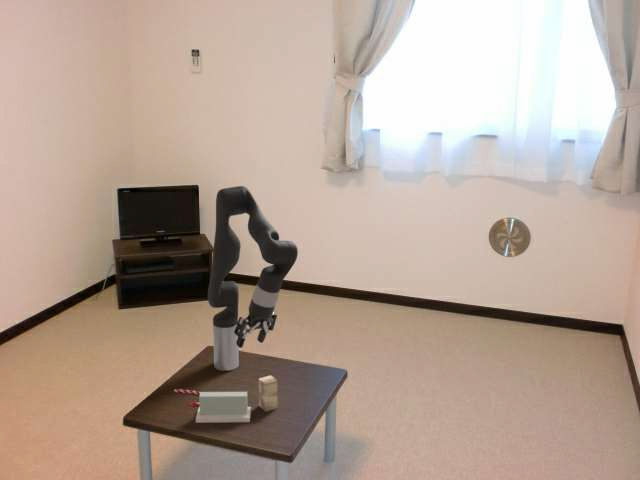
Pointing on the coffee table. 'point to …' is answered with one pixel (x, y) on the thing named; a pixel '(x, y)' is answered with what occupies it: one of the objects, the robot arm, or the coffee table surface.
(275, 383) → the pine block
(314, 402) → the coffee table surface
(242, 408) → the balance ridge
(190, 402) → the candy cane
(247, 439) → the coffee table surface
